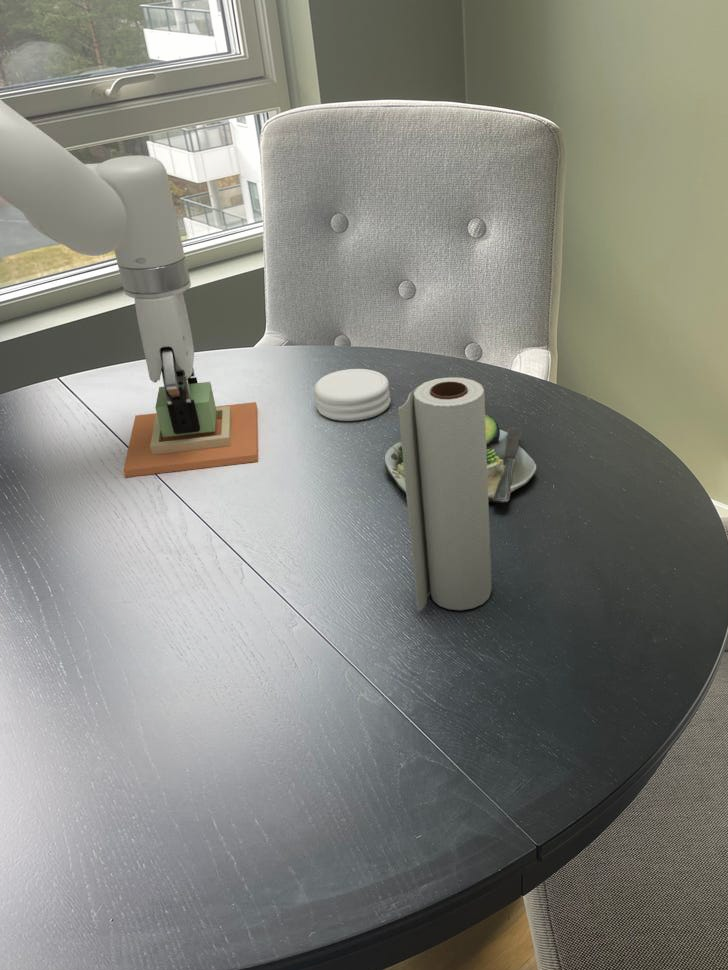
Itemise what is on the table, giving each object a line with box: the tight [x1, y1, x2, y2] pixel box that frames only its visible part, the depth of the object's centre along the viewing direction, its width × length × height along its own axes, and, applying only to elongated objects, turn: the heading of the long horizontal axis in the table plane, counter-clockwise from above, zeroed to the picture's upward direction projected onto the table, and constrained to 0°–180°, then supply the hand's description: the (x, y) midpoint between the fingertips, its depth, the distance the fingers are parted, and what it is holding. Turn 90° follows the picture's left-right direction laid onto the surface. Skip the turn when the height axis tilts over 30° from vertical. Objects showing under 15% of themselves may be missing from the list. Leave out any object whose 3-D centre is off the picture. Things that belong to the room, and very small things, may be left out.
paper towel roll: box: [397, 376, 493, 613], centre depth 89 cm, size 7×6×21 cm
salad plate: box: [383, 413, 537, 504], centre depth 113 cm, size 19×18×5 cm
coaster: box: [313, 368, 391, 422], centre depth 130 cm, size 10×10×4 cm
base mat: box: [122, 401, 259, 478], centre depth 124 cm, size 16×16×2 cm
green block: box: [154, 381, 217, 437], centre depth 122 cm, size 6×6×4 cm
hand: (188, 418), depth 123 cm, fingers closed on green block, 6 cm apart
